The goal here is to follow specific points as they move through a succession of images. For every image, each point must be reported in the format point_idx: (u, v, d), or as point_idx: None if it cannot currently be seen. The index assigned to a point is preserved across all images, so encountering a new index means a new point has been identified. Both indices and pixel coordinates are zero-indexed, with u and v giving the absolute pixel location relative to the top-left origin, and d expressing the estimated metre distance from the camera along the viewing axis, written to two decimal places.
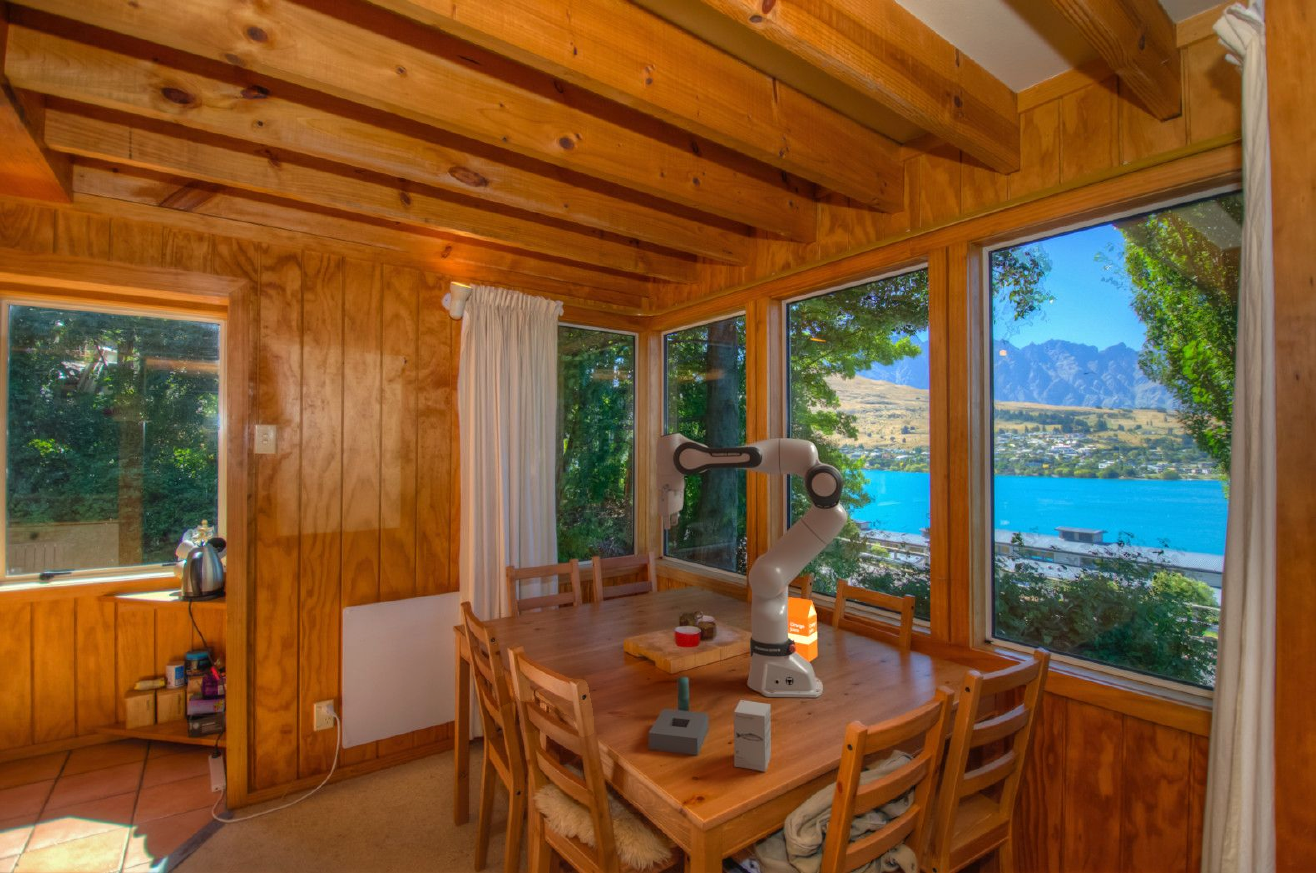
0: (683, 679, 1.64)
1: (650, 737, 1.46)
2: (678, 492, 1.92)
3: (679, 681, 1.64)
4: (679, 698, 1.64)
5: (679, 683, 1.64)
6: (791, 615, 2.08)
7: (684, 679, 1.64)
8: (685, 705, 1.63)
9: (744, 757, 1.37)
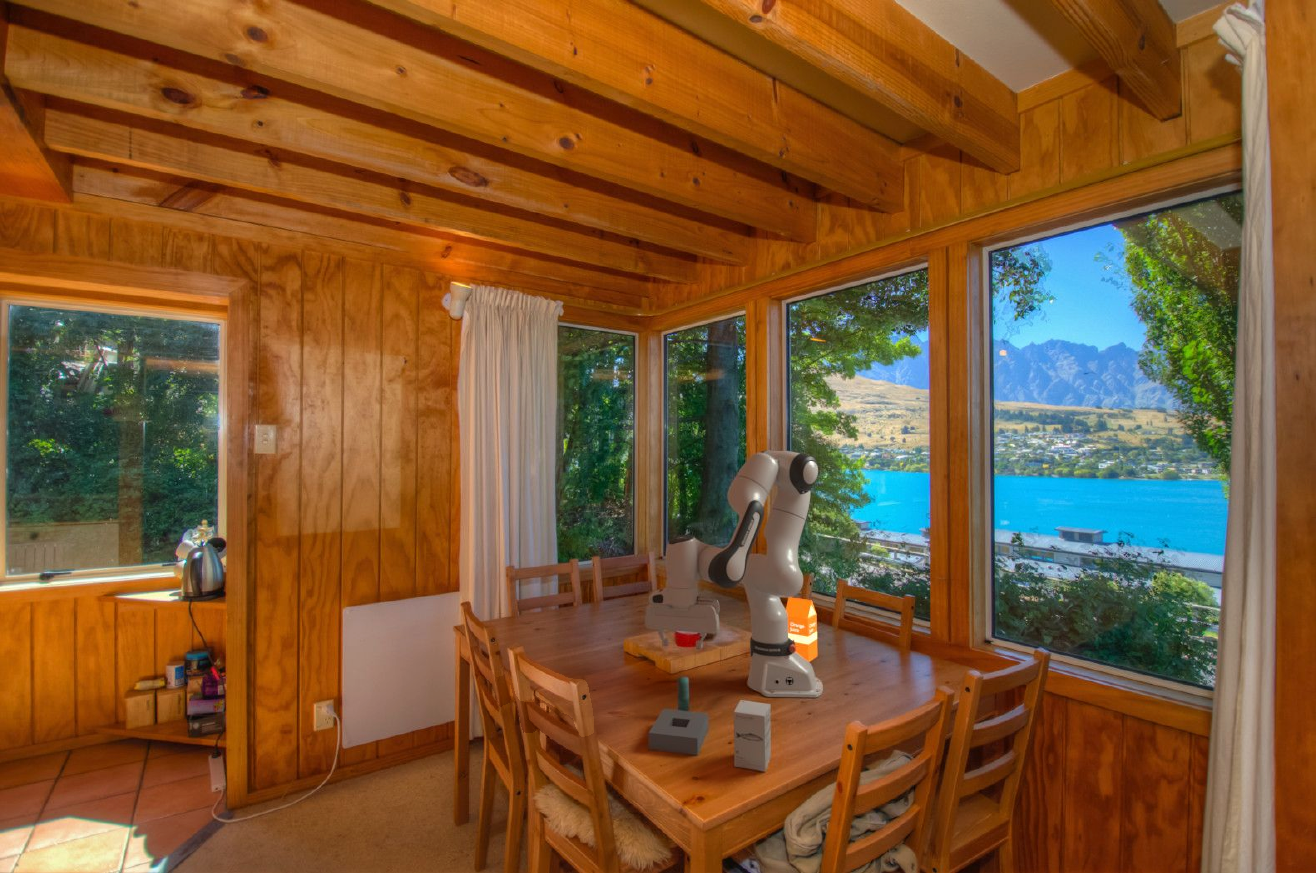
0: (683, 679, 1.64)
1: (650, 737, 1.46)
2: None
3: (679, 681, 1.64)
4: (679, 698, 1.64)
5: (679, 683, 1.64)
6: (791, 615, 2.08)
7: (684, 679, 1.64)
8: (685, 705, 1.63)
9: (744, 757, 1.37)
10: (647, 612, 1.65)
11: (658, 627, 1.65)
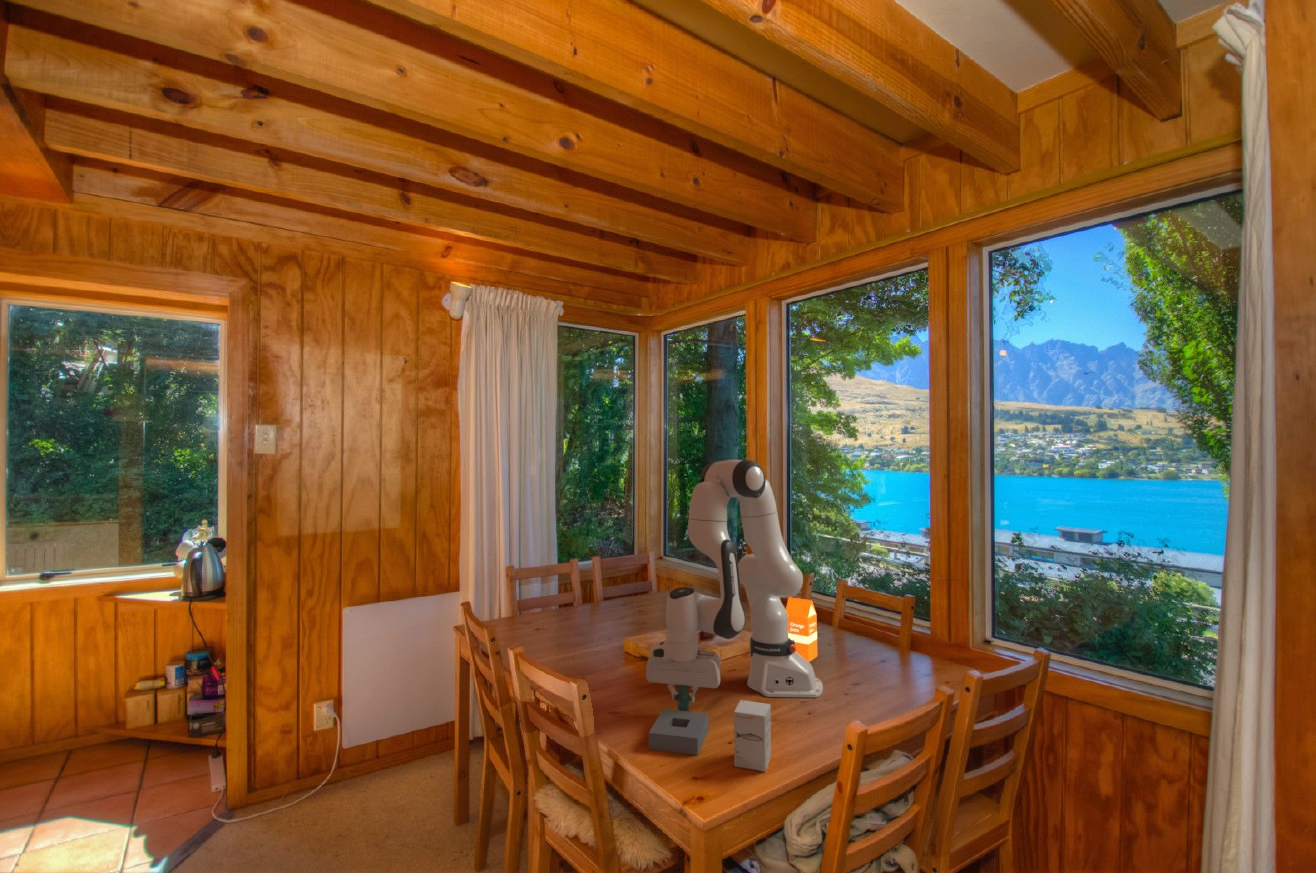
0: None
1: (650, 737, 1.46)
2: None
3: None
4: (679, 698, 1.64)
5: None
6: (791, 615, 2.08)
7: None
8: (685, 705, 1.63)
9: (744, 757, 1.37)
10: (648, 665, 1.65)
11: (659, 681, 1.65)
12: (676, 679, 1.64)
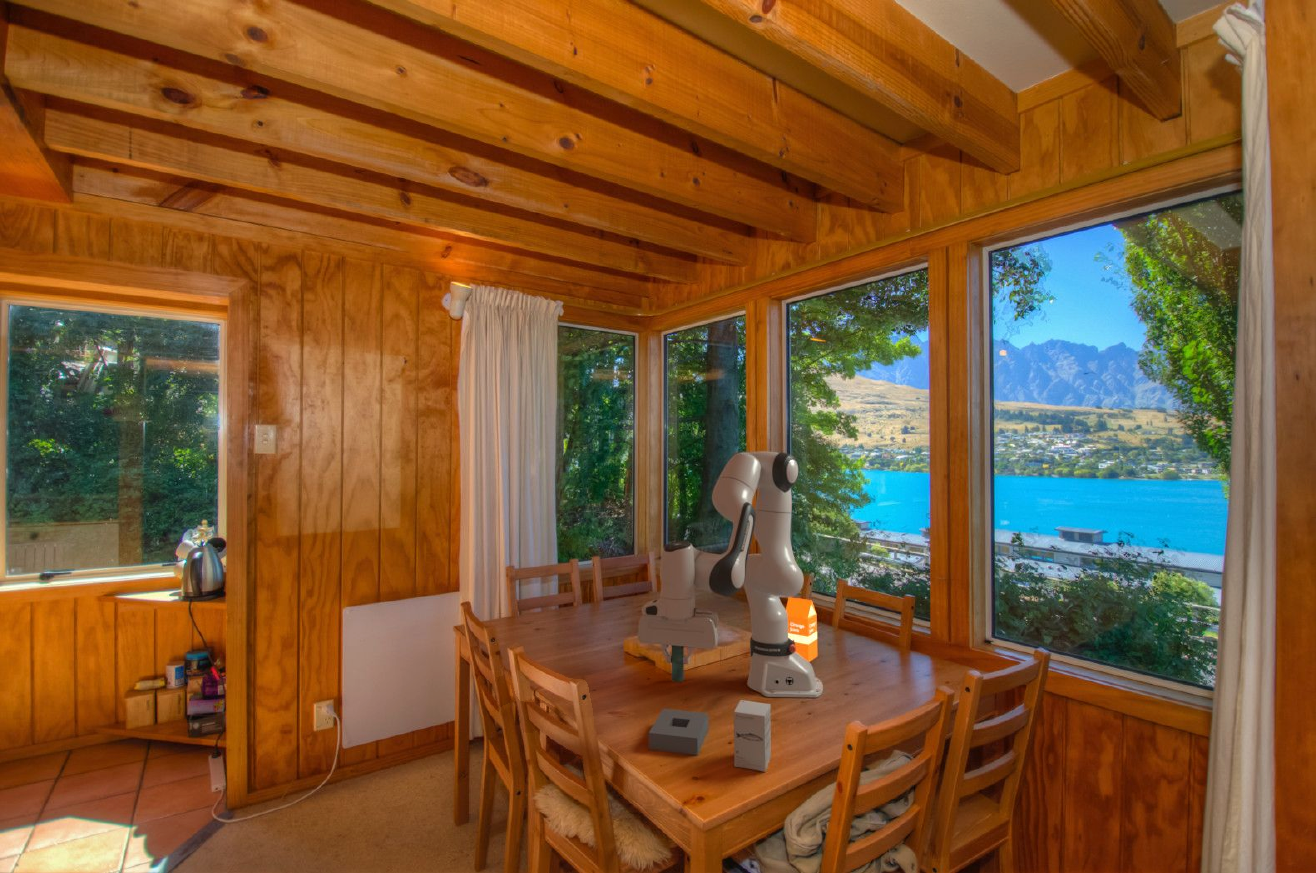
0: None
1: (650, 737, 1.46)
2: None
3: None
4: (673, 660, 1.51)
5: None
6: (791, 615, 2.08)
7: None
8: (679, 667, 1.51)
9: (744, 757, 1.37)
10: (640, 624, 1.53)
11: (652, 641, 1.52)
12: (670, 639, 1.51)
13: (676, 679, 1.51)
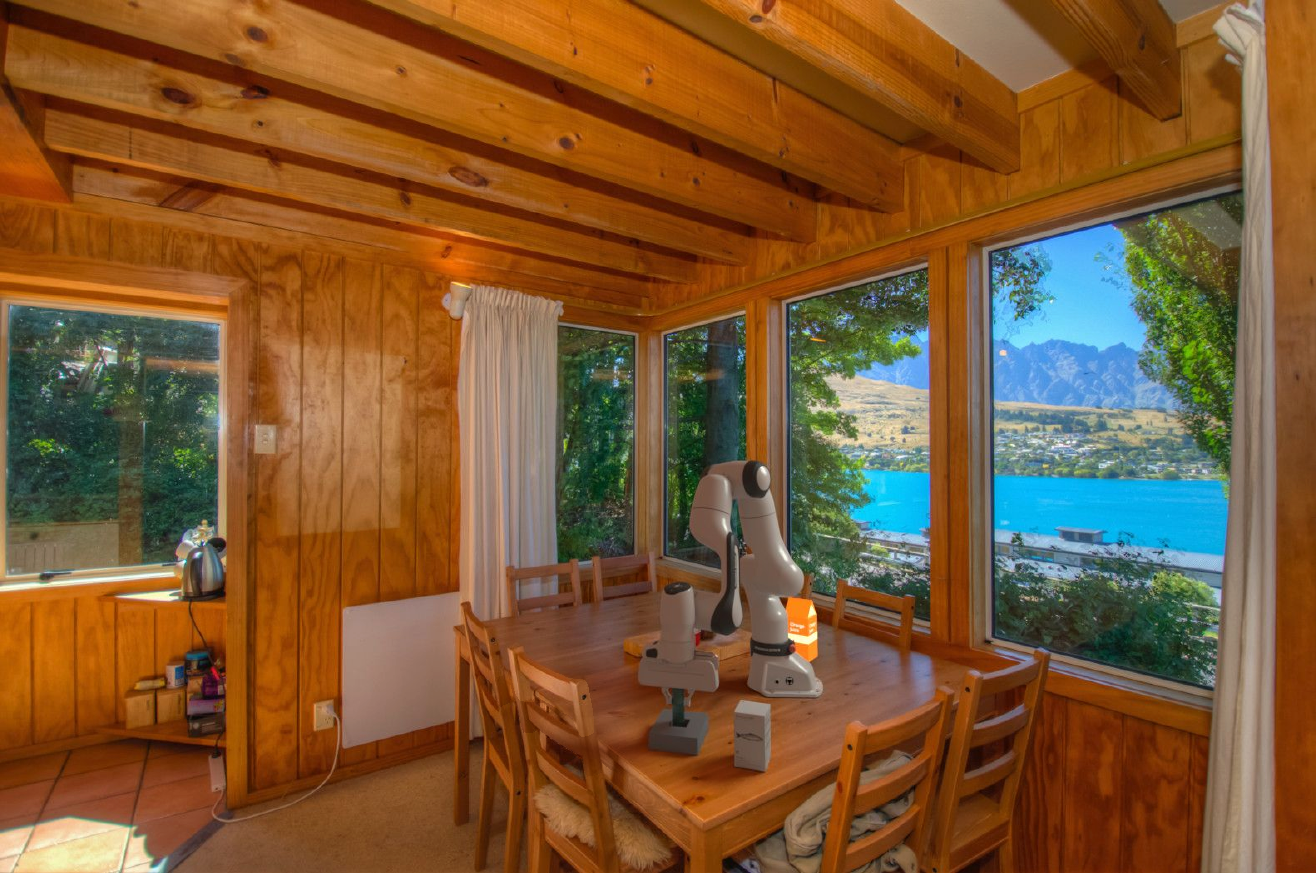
0: None
1: (650, 737, 1.46)
2: None
3: None
4: (674, 702, 1.51)
5: None
6: (791, 615, 2.08)
7: None
8: (680, 710, 1.50)
9: (744, 757, 1.37)
10: (640, 666, 1.52)
11: (652, 683, 1.52)
12: (670, 682, 1.51)
13: (677, 722, 1.50)
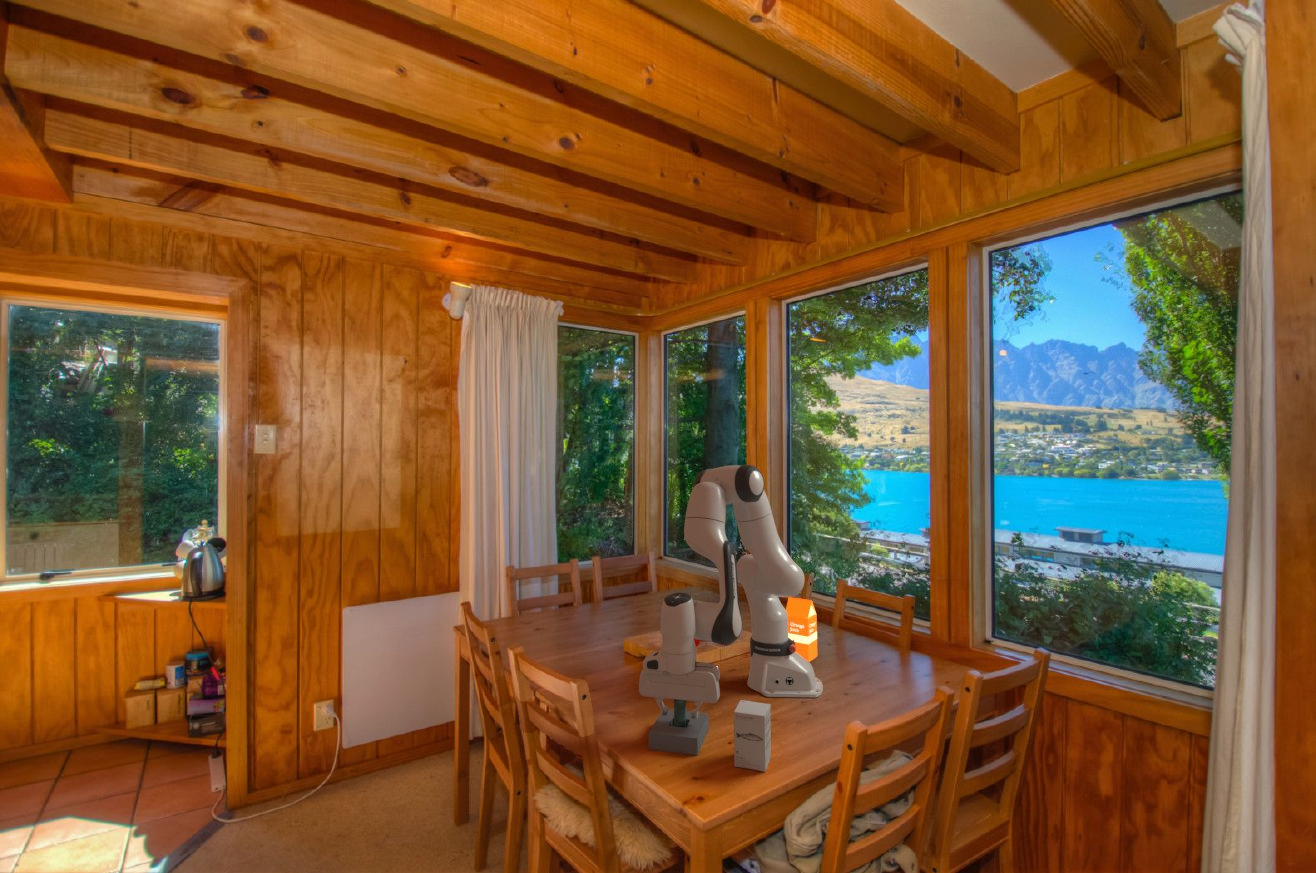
0: None
1: (650, 737, 1.46)
2: None
3: (676, 701, 1.51)
4: (675, 719, 1.51)
5: (675, 703, 1.51)
6: (791, 615, 2.08)
7: None
8: None
9: (744, 757, 1.37)
10: (641, 678, 1.52)
11: (653, 695, 1.52)
12: (671, 693, 1.51)
13: None
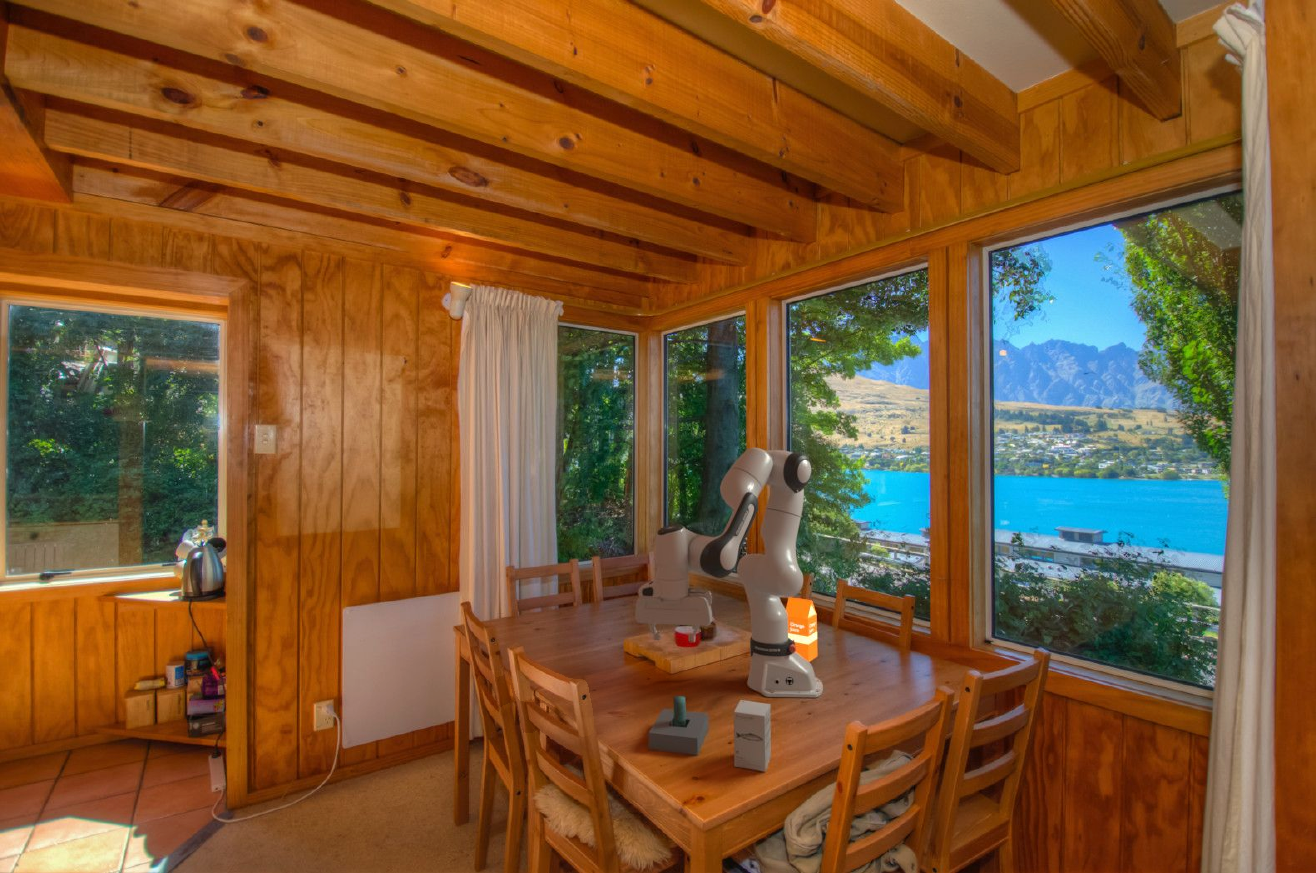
0: (679, 699, 1.51)
1: (650, 737, 1.46)
2: None
3: (675, 701, 1.51)
4: (675, 720, 1.51)
5: (675, 703, 1.51)
6: (791, 615, 2.08)
7: (680, 699, 1.51)
8: None
9: (744, 757, 1.37)
10: (637, 605, 1.59)
11: (649, 621, 1.59)
12: (666, 618, 1.58)
13: None
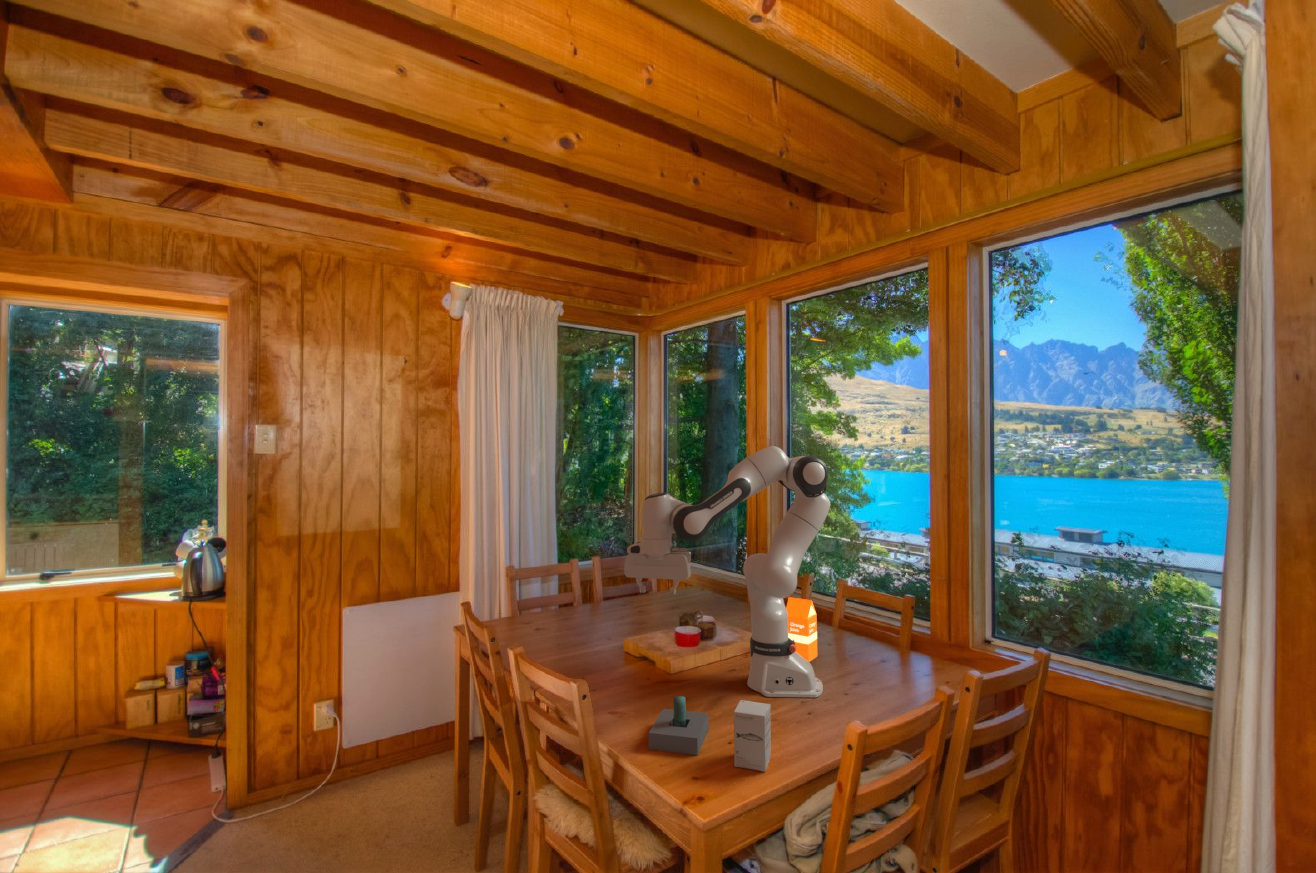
0: (679, 699, 1.51)
1: (650, 737, 1.46)
2: None
3: (675, 701, 1.51)
4: (675, 720, 1.51)
5: (675, 703, 1.51)
6: (791, 615, 2.08)
7: (680, 699, 1.51)
8: None
9: (744, 757, 1.37)
10: (626, 562, 1.83)
11: (636, 575, 1.83)
12: (651, 573, 1.81)
13: None
